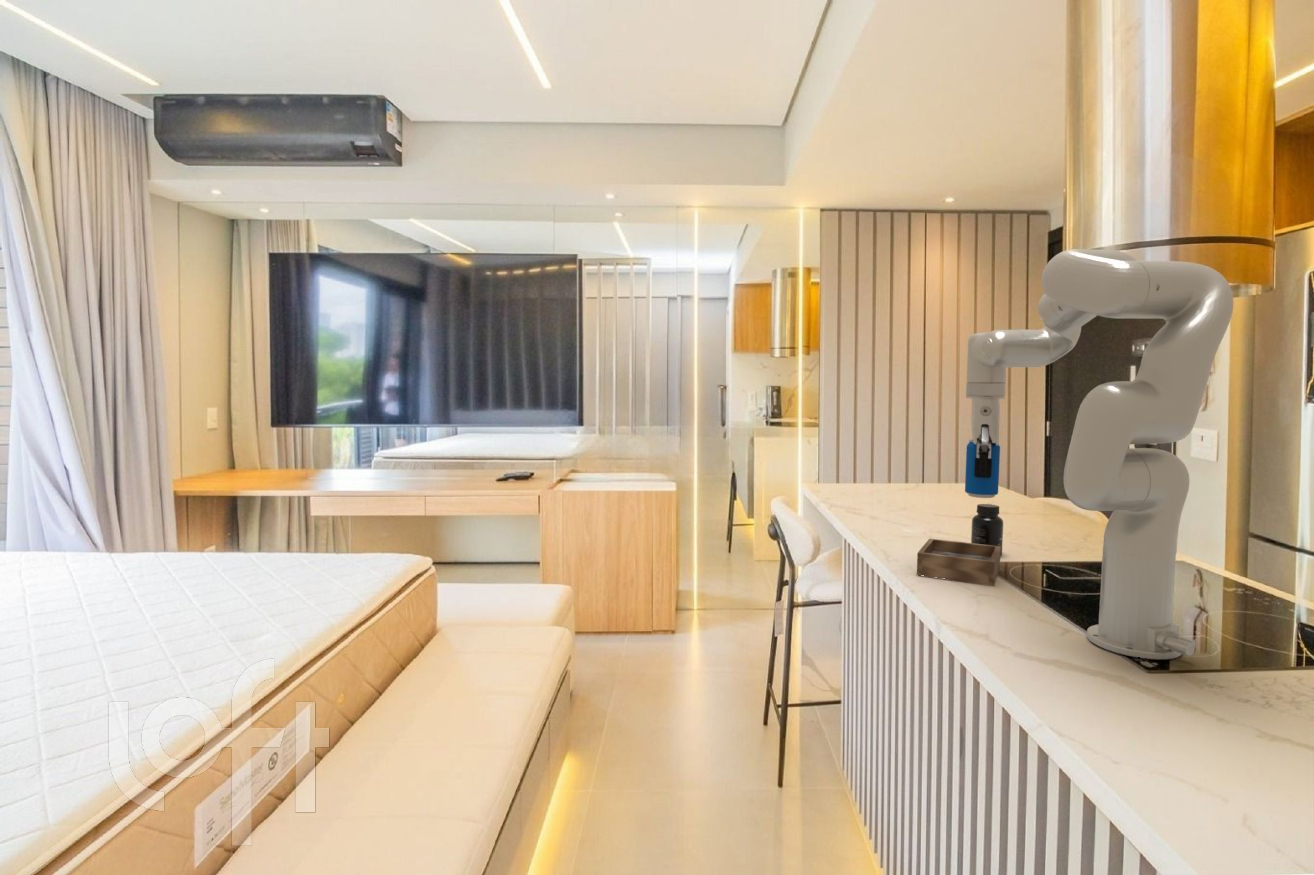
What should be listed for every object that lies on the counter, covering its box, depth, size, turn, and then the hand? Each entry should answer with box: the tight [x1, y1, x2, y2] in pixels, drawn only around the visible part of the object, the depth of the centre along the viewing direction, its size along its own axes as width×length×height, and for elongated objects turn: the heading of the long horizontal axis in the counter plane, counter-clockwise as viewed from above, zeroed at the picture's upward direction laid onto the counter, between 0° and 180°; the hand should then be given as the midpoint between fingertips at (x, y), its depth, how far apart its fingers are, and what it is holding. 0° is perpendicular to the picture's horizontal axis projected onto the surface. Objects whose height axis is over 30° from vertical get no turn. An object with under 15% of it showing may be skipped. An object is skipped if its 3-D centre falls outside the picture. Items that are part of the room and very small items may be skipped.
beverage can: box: [964, 439, 1001, 499], centre depth 149 cm, size 6×6×12 cm
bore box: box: [916, 538, 1001, 587], centre depth 152 cm, size 15×15×5 cm
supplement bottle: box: [970, 503, 1004, 557], centre depth 166 cm, size 7×7×12 cm
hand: (981, 474), depth 149 cm, fingers closed on beverage can, 6 cm apart
